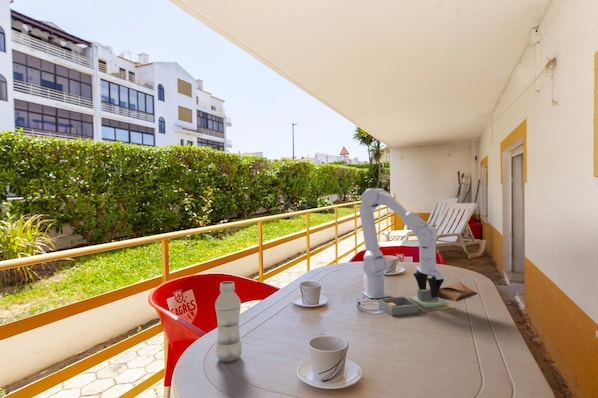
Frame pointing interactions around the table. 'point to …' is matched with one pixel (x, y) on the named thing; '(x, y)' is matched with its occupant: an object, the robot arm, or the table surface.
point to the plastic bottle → (228, 323)
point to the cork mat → (435, 308)
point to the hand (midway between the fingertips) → (428, 294)
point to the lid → (427, 299)
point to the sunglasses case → (455, 292)
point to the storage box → (398, 306)
